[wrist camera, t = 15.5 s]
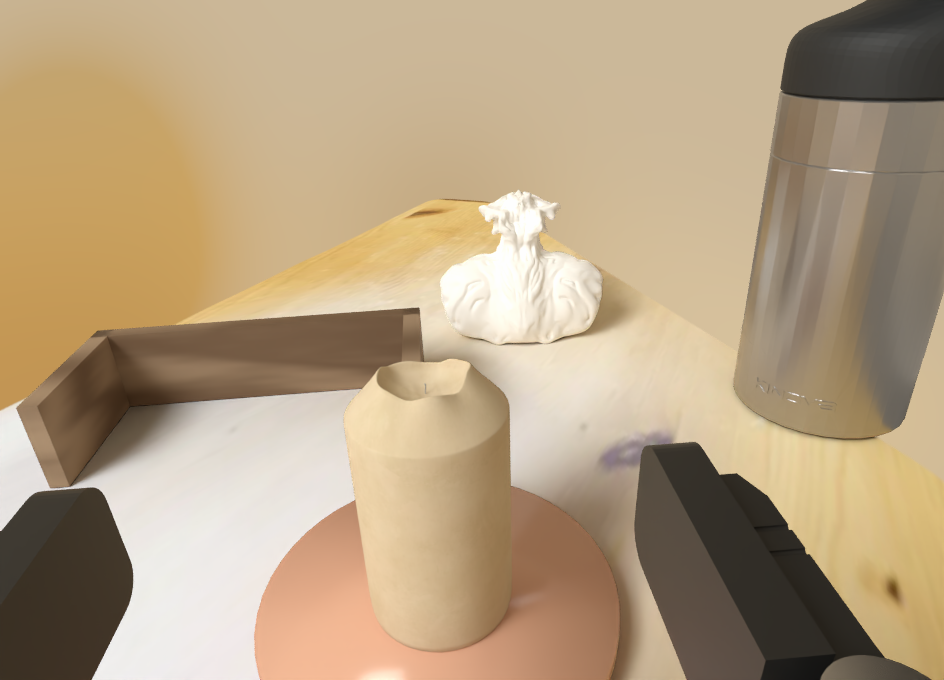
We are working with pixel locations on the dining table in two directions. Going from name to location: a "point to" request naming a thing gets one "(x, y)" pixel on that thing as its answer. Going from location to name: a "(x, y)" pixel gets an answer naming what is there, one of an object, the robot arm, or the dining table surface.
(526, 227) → the bust
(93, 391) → the wooden frame
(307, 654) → the saucer
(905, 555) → the dining table surface
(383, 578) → the candle
